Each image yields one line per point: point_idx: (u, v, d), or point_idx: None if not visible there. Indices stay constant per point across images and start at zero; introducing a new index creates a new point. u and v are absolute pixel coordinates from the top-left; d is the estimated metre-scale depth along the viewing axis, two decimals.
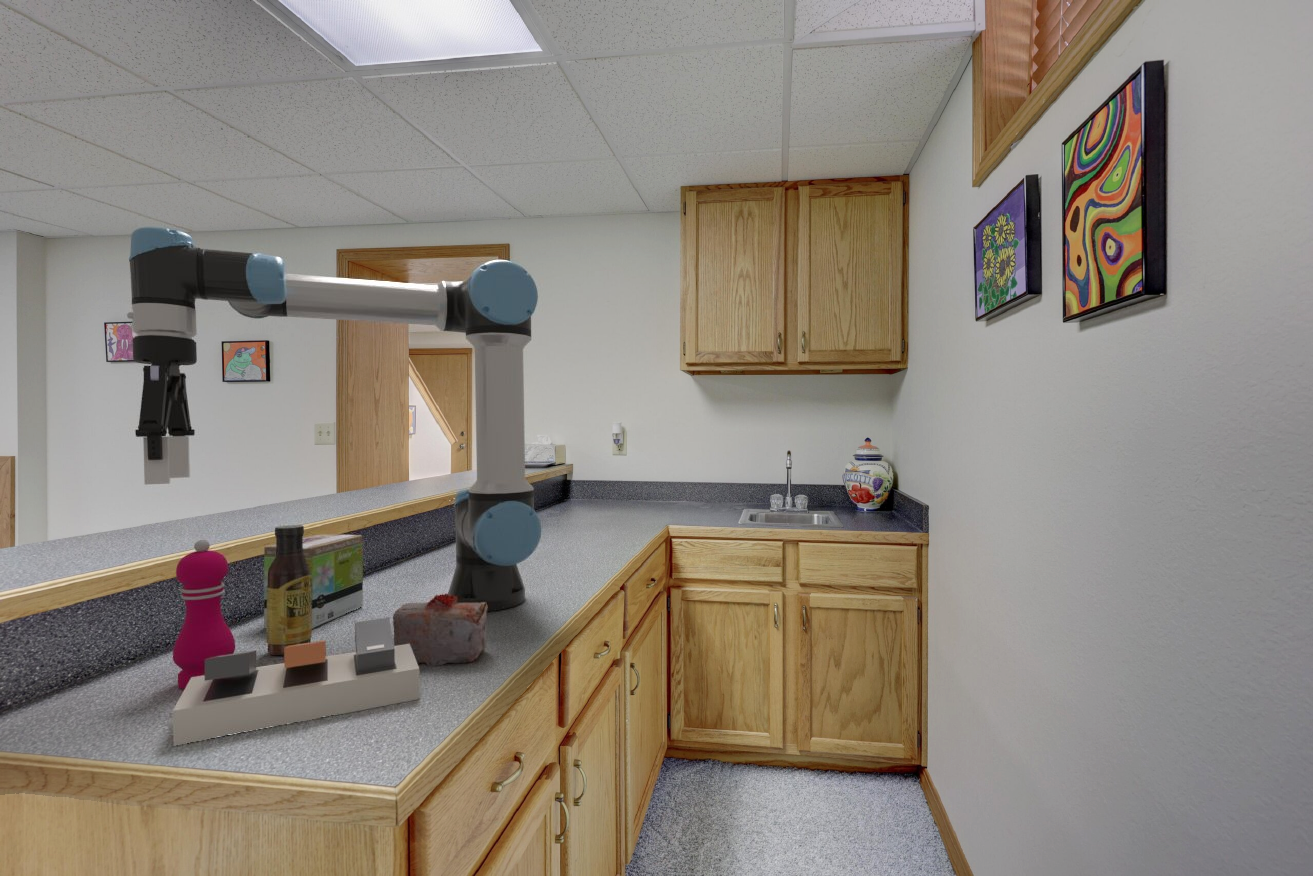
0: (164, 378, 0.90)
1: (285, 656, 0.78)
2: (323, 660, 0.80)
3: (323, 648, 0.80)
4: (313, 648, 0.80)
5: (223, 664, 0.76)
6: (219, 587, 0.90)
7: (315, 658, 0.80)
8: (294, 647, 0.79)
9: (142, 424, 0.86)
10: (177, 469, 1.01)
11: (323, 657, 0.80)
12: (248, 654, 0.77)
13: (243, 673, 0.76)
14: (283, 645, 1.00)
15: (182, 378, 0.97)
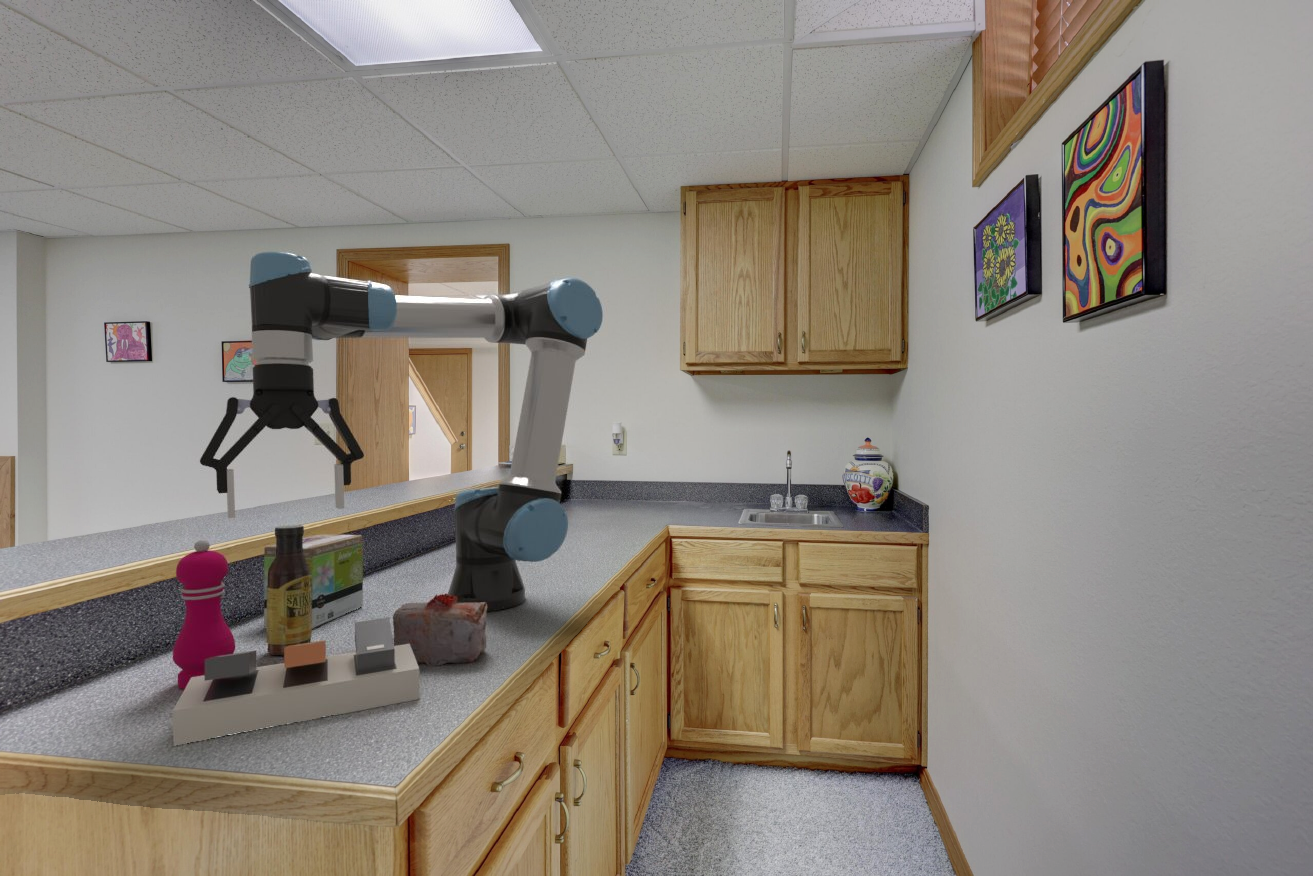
0: (227, 410, 0.88)
1: (285, 656, 0.78)
2: (323, 660, 0.80)
3: (323, 648, 0.80)
4: (313, 648, 0.80)
5: (223, 664, 0.76)
6: (219, 587, 0.90)
7: (315, 658, 0.80)
8: (294, 647, 0.79)
9: None
10: (336, 499, 0.97)
11: (323, 657, 0.80)
12: (248, 654, 0.77)
13: (243, 673, 0.76)
14: (283, 645, 1.00)
15: (293, 405, 0.92)
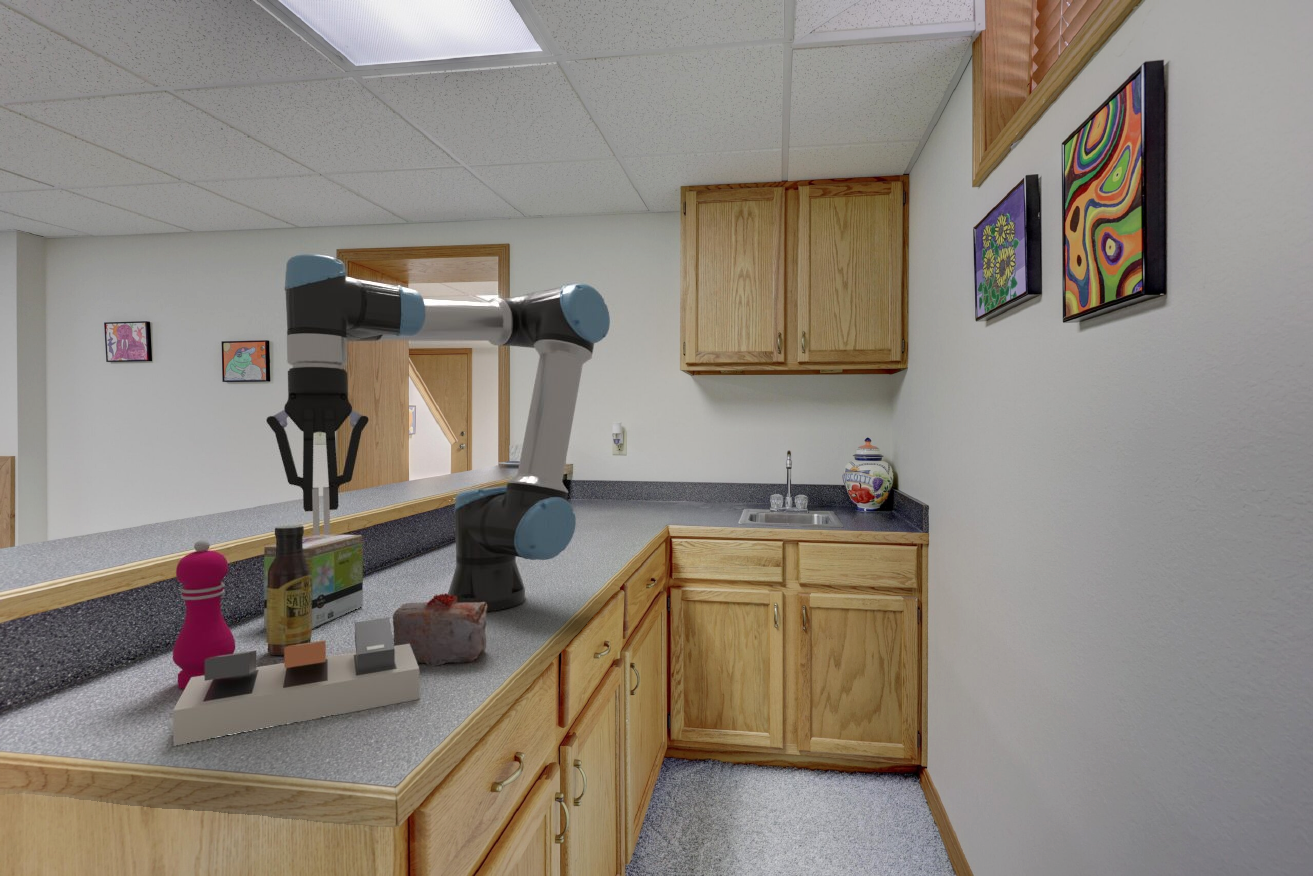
0: (273, 430, 0.88)
1: (285, 656, 0.78)
2: (323, 660, 0.80)
3: (323, 648, 0.80)
4: (313, 648, 0.80)
5: (223, 664, 0.76)
6: (219, 587, 0.90)
7: (315, 658, 0.80)
8: (294, 647, 0.79)
9: None
10: None
11: (323, 657, 0.80)
12: (248, 654, 0.77)
13: (243, 673, 0.76)
14: (283, 645, 1.00)
15: (328, 408, 0.91)
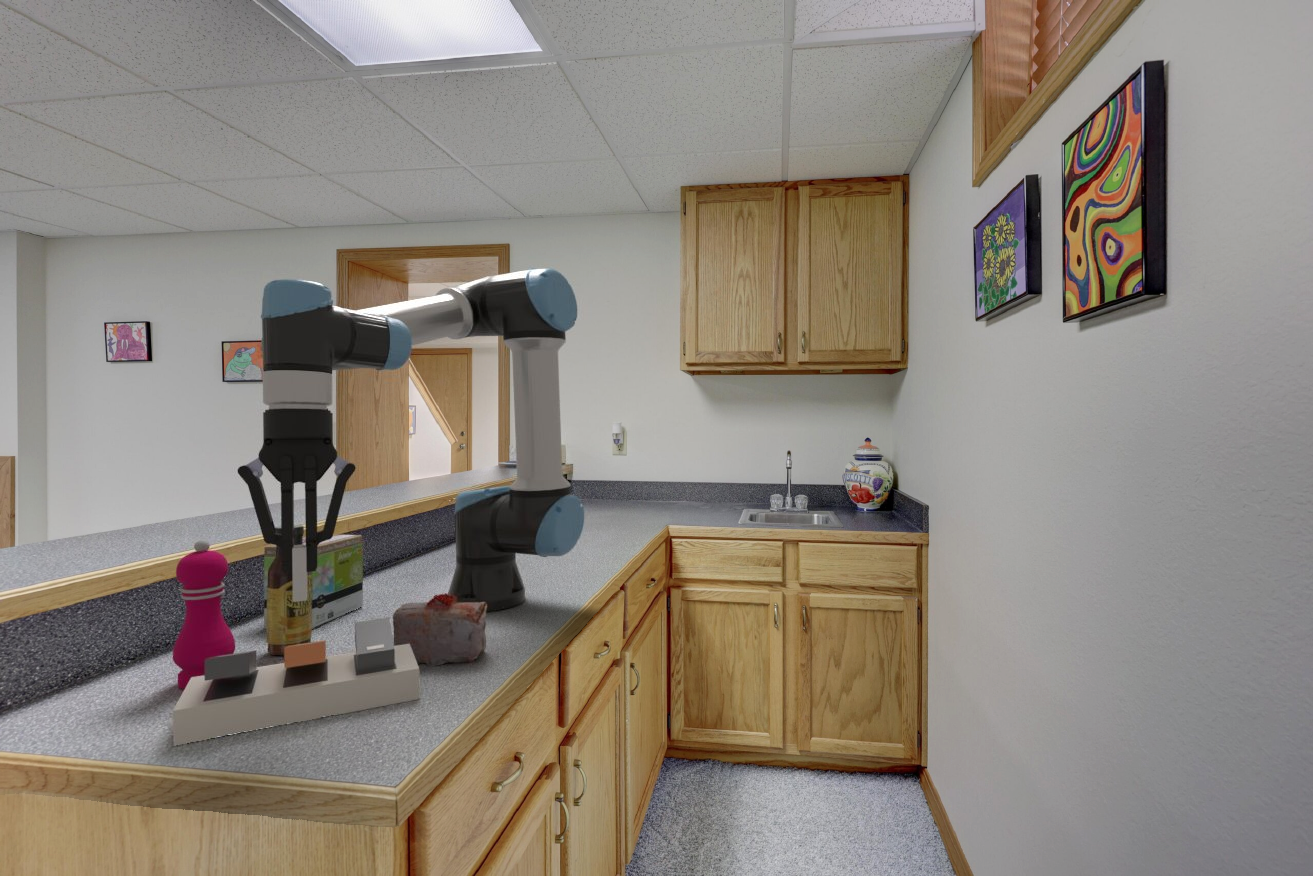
0: (246, 482, 0.76)
1: (285, 656, 0.78)
2: (323, 660, 0.80)
3: (323, 648, 0.80)
4: (313, 648, 0.80)
5: (223, 664, 0.76)
6: (219, 587, 0.90)
7: (315, 658, 0.80)
8: (294, 647, 0.79)
9: None
10: None
11: (323, 657, 0.80)
12: (248, 654, 0.77)
13: (243, 673, 0.76)
14: (283, 645, 1.00)
15: (309, 455, 0.79)
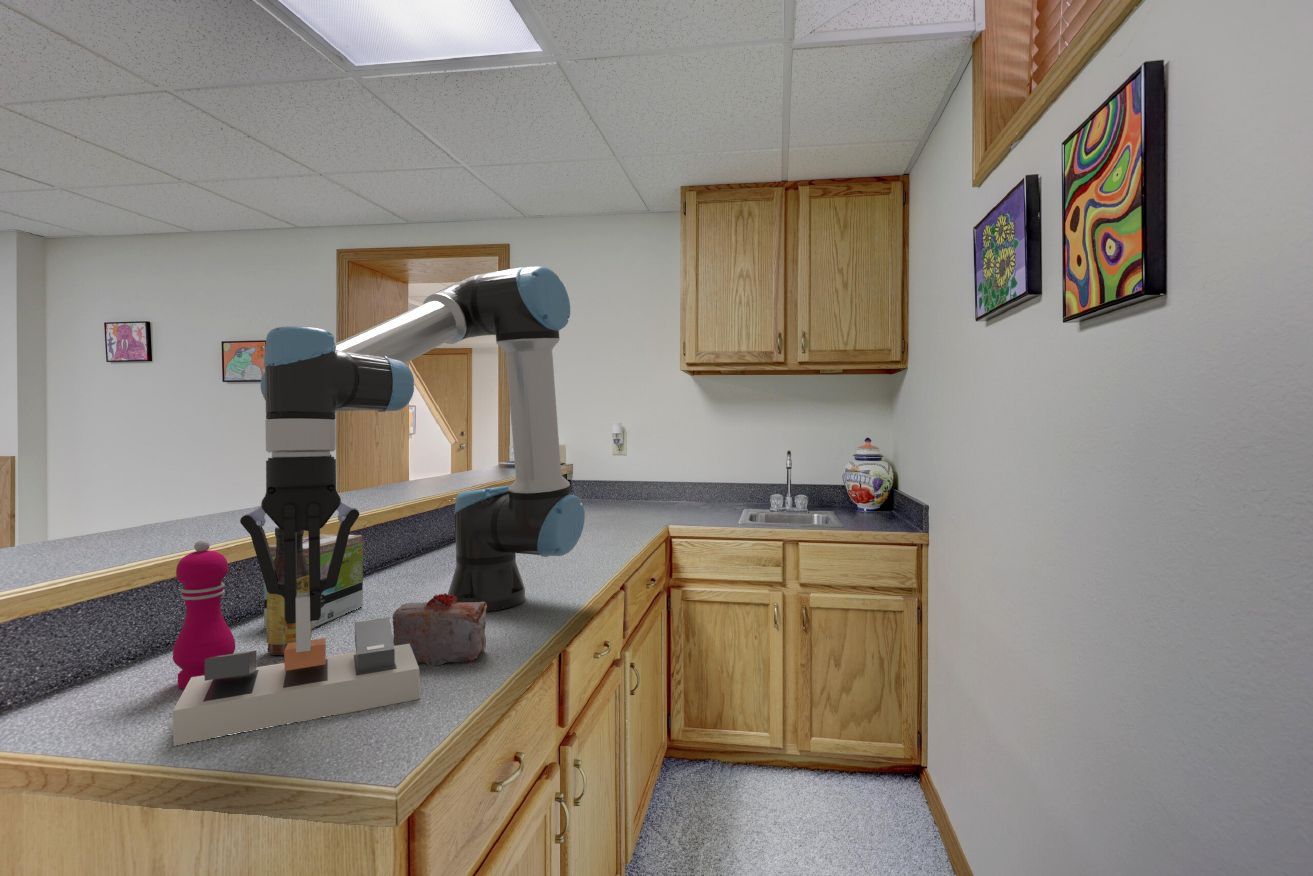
0: (248, 532, 0.75)
1: (285, 659, 0.78)
2: (323, 663, 0.80)
3: (323, 651, 0.80)
4: (313, 651, 0.80)
5: (223, 664, 0.76)
6: (219, 587, 0.90)
7: (315, 661, 0.80)
8: (294, 650, 0.79)
9: None
10: None
11: (323, 660, 0.80)
12: (248, 654, 0.77)
13: (243, 673, 0.76)
14: (283, 645, 1.00)
15: (313, 503, 0.78)
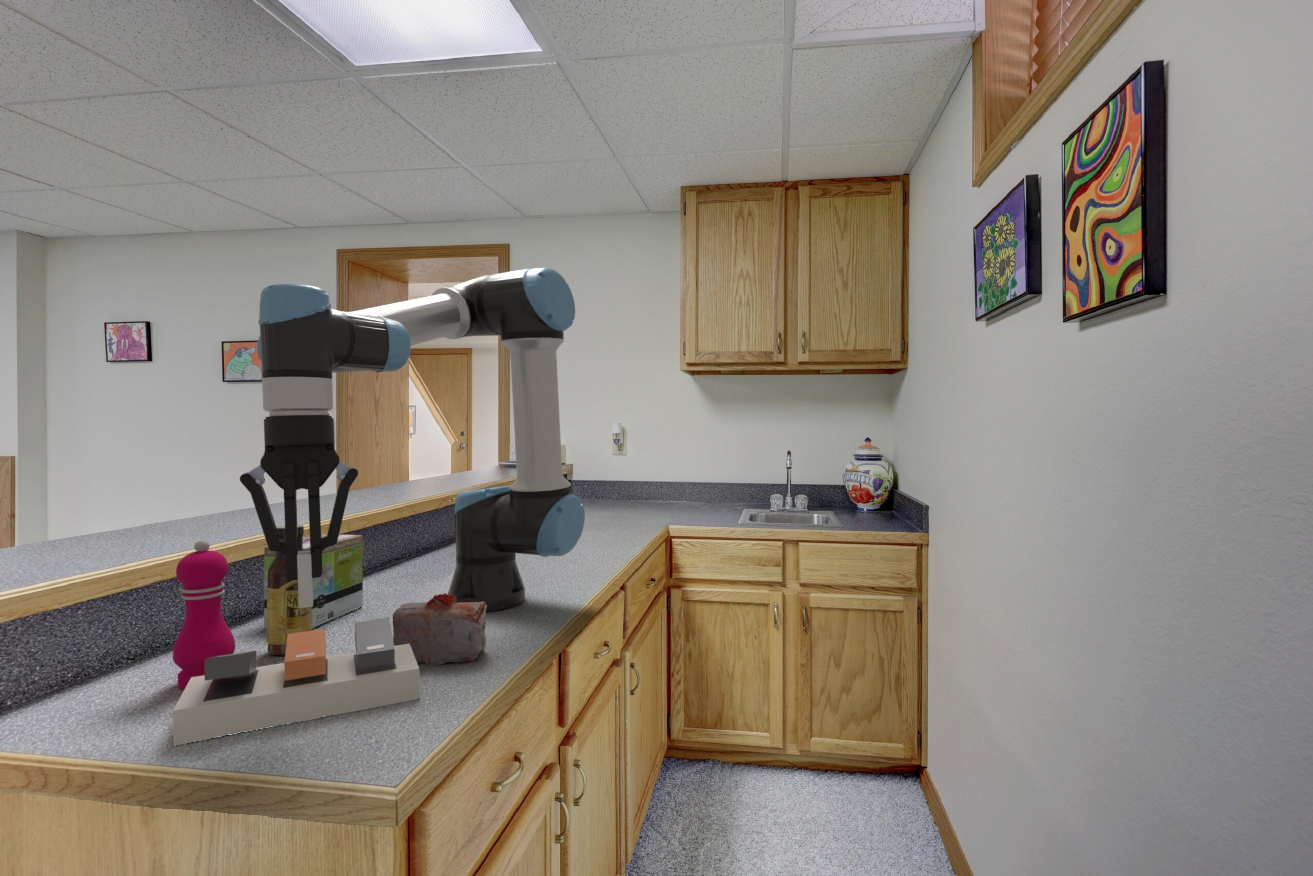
0: (248, 490, 0.76)
1: (285, 670, 0.78)
2: (323, 672, 0.80)
3: (323, 662, 0.80)
4: (313, 662, 0.80)
5: (223, 664, 0.76)
6: (219, 587, 0.90)
7: (316, 671, 0.80)
8: (294, 662, 0.79)
9: None
10: None
11: (323, 670, 0.80)
12: (248, 654, 0.77)
13: (243, 673, 0.76)
14: (283, 645, 1.00)
15: (312, 462, 0.78)
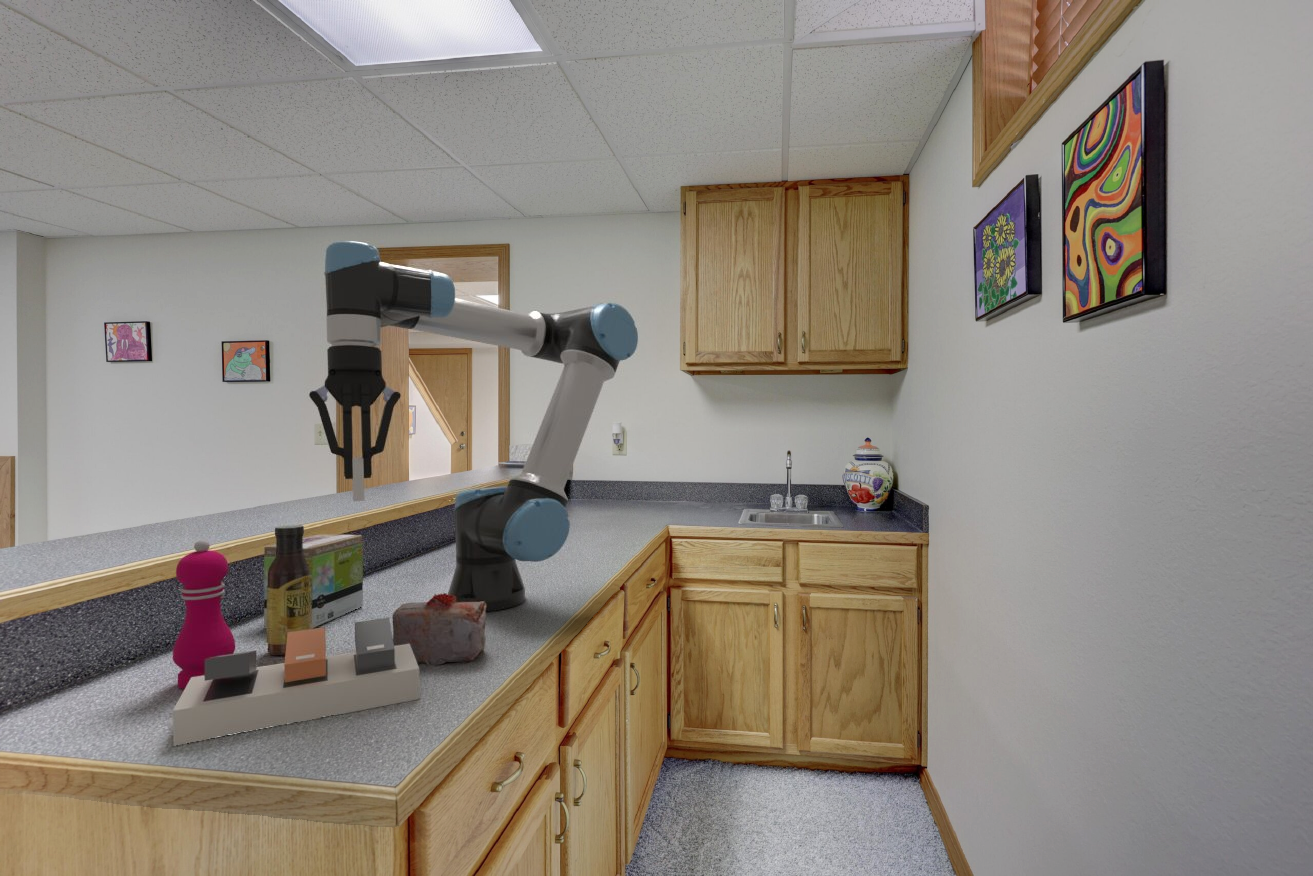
0: (315, 404, 0.96)
1: (285, 672, 0.78)
2: (323, 674, 0.80)
3: (323, 664, 0.80)
4: (313, 664, 0.80)
5: (223, 664, 0.76)
6: (219, 587, 0.90)
7: (316, 673, 0.80)
8: (294, 664, 0.79)
9: None
10: None
11: (323, 672, 0.80)
12: (248, 654, 0.77)
13: (243, 673, 0.76)
14: (283, 645, 1.00)
15: (365, 384, 0.98)
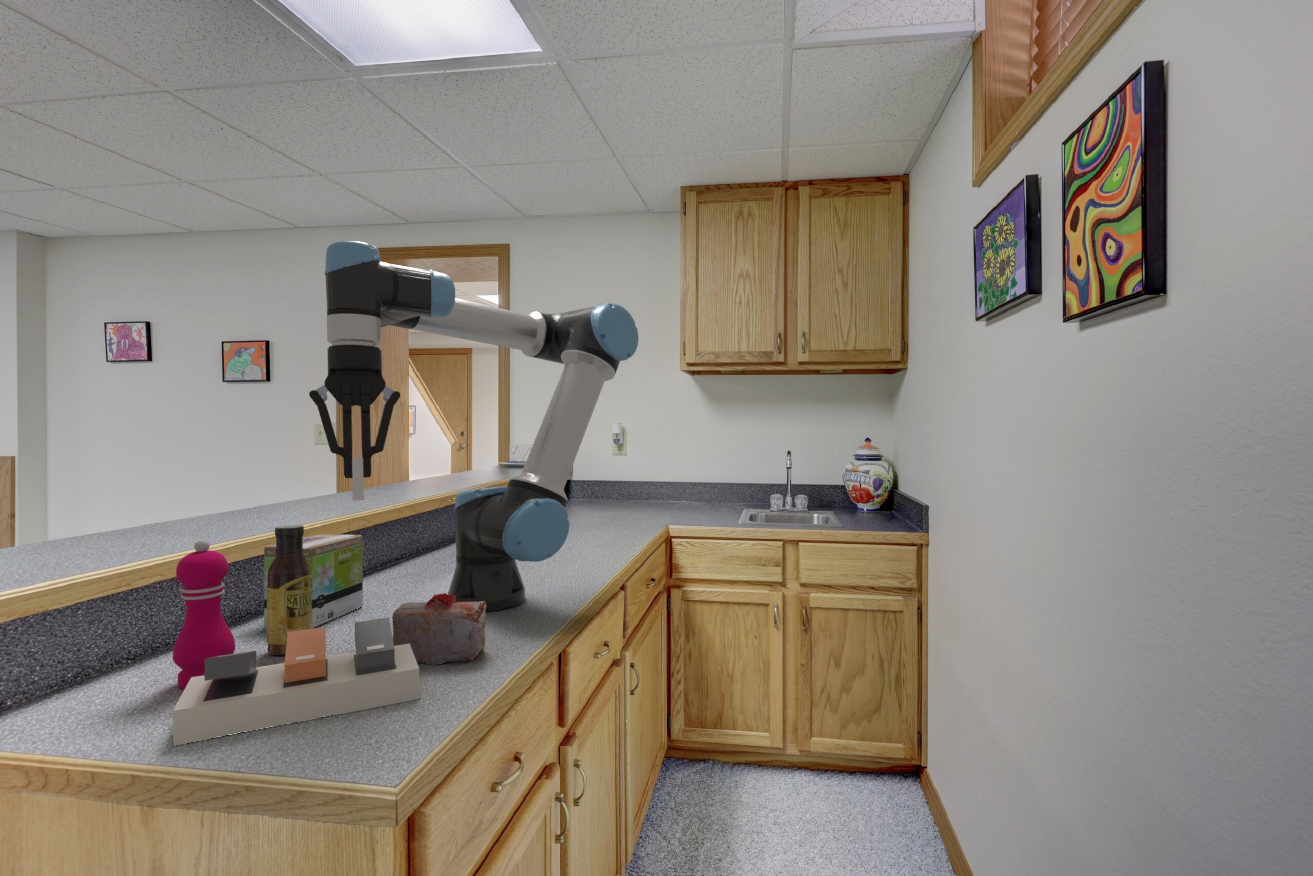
0: (315, 403, 0.96)
1: (285, 672, 0.78)
2: (323, 675, 0.80)
3: (323, 664, 0.80)
4: (313, 665, 0.80)
5: (223, 664, 0.76)
6: (219, 587, 0.90)
7: (316, 673, 0.80)
8: (294, 664, 0.79)
9: None
10: None
11: (323, 672, 0.80)
12: (248, 654, 0.77)
13: (243, 673, 0.76)
14: (283, 645, 1.00)
15: (365, 383, 0.98)
